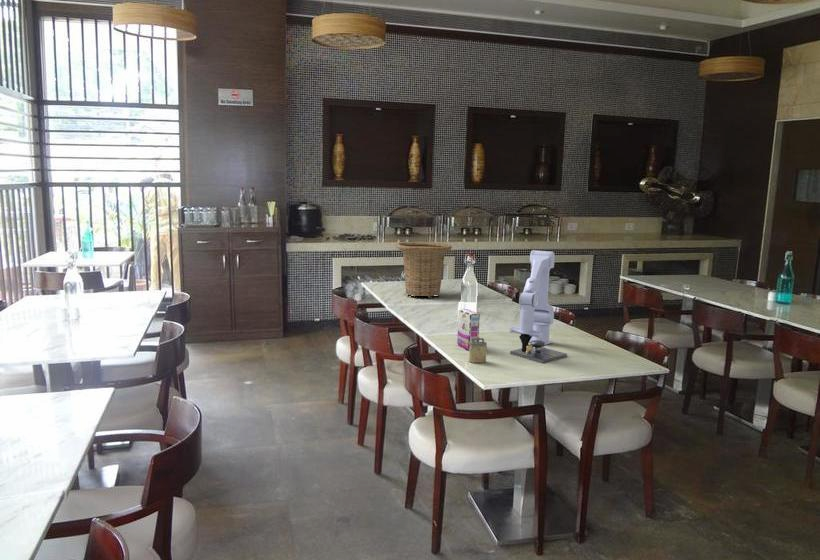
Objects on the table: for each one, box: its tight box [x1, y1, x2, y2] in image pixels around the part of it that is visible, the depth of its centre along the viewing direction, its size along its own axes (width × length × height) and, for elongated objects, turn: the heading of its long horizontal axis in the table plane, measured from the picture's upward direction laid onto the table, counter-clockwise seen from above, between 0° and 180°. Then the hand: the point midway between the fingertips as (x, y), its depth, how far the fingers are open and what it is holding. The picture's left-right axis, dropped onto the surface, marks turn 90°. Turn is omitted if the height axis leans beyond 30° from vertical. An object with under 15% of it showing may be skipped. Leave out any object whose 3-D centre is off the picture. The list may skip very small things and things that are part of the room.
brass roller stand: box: [526, 340, 546, 354], centre depth 263 cm, size 12×6×4 cm, turn 139°
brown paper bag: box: [468, 337, 488, 364], centre depth 251 cm, size 7×4×10 cm, turn 98°
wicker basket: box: [396, 241, 453, 297], centre depth 394 cm, size 35×35×33 cm
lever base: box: [509, 346, 568, 364], centre depth 264 cm, size 17×17×4 cm
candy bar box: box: [456, 308, 481, 352], centre depth 272 cm, size 11×5×16 cm, turn 23°
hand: (524, 351), depth 261 cm, fingers closed, pressing on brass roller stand
